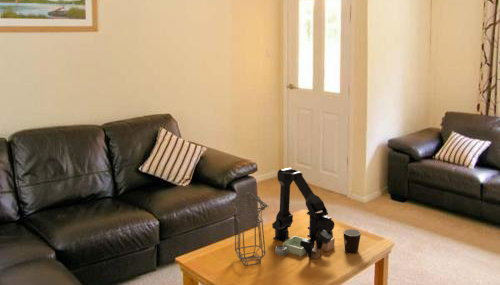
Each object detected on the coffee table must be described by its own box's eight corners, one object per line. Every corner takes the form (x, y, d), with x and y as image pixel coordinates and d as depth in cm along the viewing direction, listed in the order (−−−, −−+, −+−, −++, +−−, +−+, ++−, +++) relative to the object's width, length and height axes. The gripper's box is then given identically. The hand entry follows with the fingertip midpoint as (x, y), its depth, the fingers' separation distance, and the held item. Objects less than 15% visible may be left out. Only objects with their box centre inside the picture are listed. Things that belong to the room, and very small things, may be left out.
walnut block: (309, 257, 249) (309, 249, 248) (313, 254, 252) (313, 247, 251) (316, 259, 247) (316, 252, 246) (320, 256, 250) (320, 249, 249)
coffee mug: (360, 255, 251) (361, 236, 248) (342, 253, 252) (343, 235, 250) (359, 245, 262) (360, 227, 259) (343, 243, 263) (343, 226, 261)
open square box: (315, 248, 259) (315, 239, 258) (322, 243, 264) (322, 234, 263) (327, 251, 255) (327, 242, 253) (334, 246, 260) (334, 237, 259)
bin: (282, 250, 257) (282, 243, 256) (294, 242, 265) (294, 235, 264) (301, 256, 250) (301, 249, 249) (312, 248, 259) (313, 241, 258)
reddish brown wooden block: (275, 254, 253) (275, 247, 252) (279, 251, 256) (279, 244, 255) (283, 256, 250) (283, 250, 249) (287, 254, 253) (287, 247, 252)
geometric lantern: (239, 270, 237) (236, 199, 229) (231, 256, 252) (228, 189, 244) (271, 265, 241) (269, 195, 233) (261, 252, 256) (259, 186, 248)
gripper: (320, 235, 234) (319, 266, 237) (339, 222, 248) (338, 251, 252) (299, 229, 240) (299, 259, 244) (319, 217, 255) (318, 245, 258)
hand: (314, 254), depth 249 cm, fingers open, 9 cm apart
